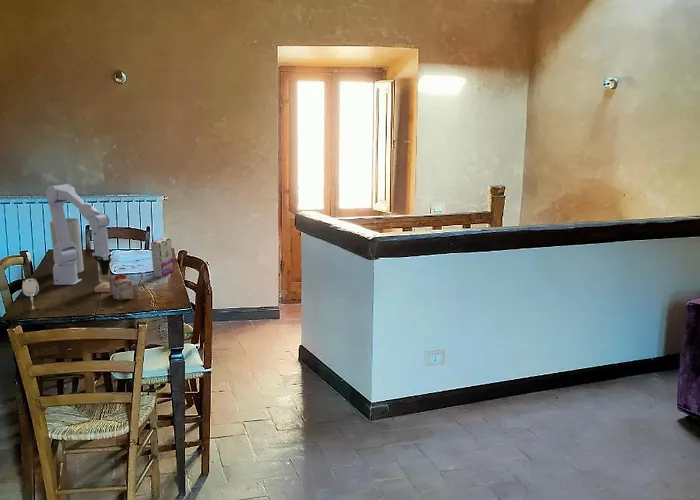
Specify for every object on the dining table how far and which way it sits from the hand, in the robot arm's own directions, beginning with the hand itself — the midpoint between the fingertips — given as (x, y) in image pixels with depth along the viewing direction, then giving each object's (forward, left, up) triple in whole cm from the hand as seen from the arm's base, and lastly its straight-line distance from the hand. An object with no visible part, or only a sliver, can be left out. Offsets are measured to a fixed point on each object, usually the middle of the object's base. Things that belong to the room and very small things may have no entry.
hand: (104, 273), depth 284 cm
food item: (+12, -13, -7) cm, 19 cm away
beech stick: (0, 0, -3) cm, 3 cm away
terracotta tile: (-3, 0, -6) cm, 7 cm away
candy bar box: (+17, +25, -7) cm, 31 cm away
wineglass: (-16, -30, -7) cm, 35 cm away
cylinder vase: (-30, +29, -7) cm, 42 cm away
